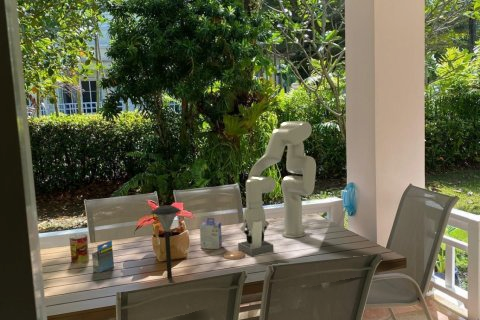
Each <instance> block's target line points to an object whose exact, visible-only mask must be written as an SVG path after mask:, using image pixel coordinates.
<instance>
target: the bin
mask: <svg viewBox="0 0 480 320" xmlns="http://www.w3.org/2000/svg"><path fill="white" fill-rule="evenodd" d="M237 247H238V248H237V251H240V252H243V253H245V255H247V256H250V257H256V256H260V255H265V254H269V253H274V244H273V243H271V242H268V241H266V240H264V241H261V247H258V248H254V249H251V248H250V244H249V243H247V240H246V241H241V242H238V244H237Z"/></svg>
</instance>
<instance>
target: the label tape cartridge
mask: <svg viewBox="0 0 480 320" xmlns="http://www.w3.org/2000/svg"><path fill="white" fill-rule="evenodd" d="M96 247H97V251H95V252H92V253H91V257H92V260H91V261H92V271H93V273H98V274H100V273H102V272H104V271H106V270H107V271H108V270H109V269H111V268H113V267H115V262H114V254H113V253H114V250H113V240H112V239H111V240H109V241H106V242H104V243H101V244H97V246H96Z"/></svg>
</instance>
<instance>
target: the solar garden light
mask: <svg viewBox="0 0 480 320" xmlns="http://www.w3.org/2000/svg"><path fill="white" fill-rule="evenodd" d="M180 212H181V209H180V208H178V207H176V206H174V205H169V204H167V205H159V206H157V207H156V208H154V209H153V210H152V211H150V214H152V215H156V217H157V219H158V221H159V223H160V225H161V226H162V229H163V230H164V242H165V258H166V262H165V263H166V274H167V275H166V277H167V279H171V278H173V275H172V274H173V273H172V257H171V253H172V252H171V237H170V235H171V234H170V231H171V228H172V224H173V222H174V220H175V217H176V215H177V214H178V213H180Z"/></svg>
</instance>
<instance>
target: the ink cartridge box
mask: <svg viewBox="0 0 480 320" xmlns="http://www.w3.org/2000/svg"><path fill="white" fill-rule="evenodd" d="M199 237H200V239H199V240H200V249H207V250H208V249H210V250H211V249H214V250H215V249H216V250H219V249H221V248H222V247H223V241H222V240H223V239H222V237H223V236H222V223H221V222H215V218H214V217H211V218H210V217H208V218H207V221H206V222H201V223H200V224H199Z"/></svg>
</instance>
